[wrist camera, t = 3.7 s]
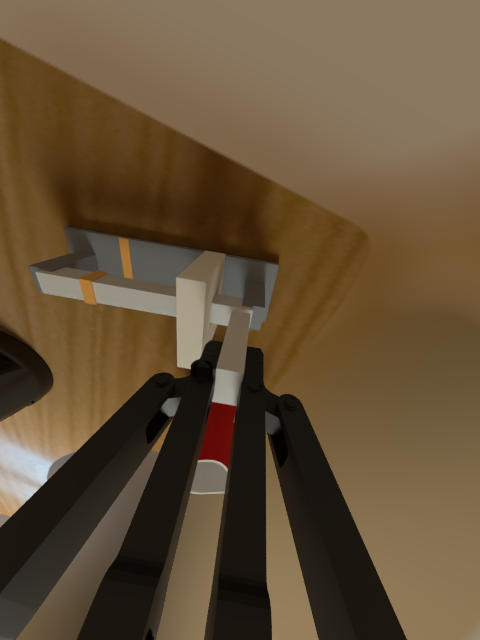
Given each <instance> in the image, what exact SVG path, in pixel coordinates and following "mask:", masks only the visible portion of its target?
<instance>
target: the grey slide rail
mask: <svg viewBox="0 0 480 640" xmlns="http://www.w3.org/2000/svg"><path fill="white" fill-rule="evenodd" d="M64 232H65V235H66V239H67V243H68V246H69V250H70V254H67V255H64V256H61V257H57V258H54V259H50V260H47V261H43V262H40V263H37V264H33V265H30V266H29V269H30V271H31V274H32V276H33V279H34V282H35V284H36V287H37V290H38V291H41V292H43V293H45V294H51V295H57V296H62V297H68V298H73V299H79V300H84V301H85V303H88V304H94V305H96V304H98V303H101V304H107V305H113V306H118V307H124V308H129V309H135V310H141V311H146V312H152V313H157V314H163V315H168V316H174V317H177V307H176V277H177V276H178V275H179V274H180V273H181V272H182V271H184V270H185V269H186V268H187V267H188V266H189V265H190V264H191V263H192V262H193V261H195V260H196V259H197V258H198V257H199V256H200V255H201V254H202V253H203V252H205V251H206V250H200V249H195V248H189V247H183V246H178V245H172V244H166V243H160V242H155V241H149V240H143V239H137V238H132V237H126V236H120V235H115V234H109V233H103V232H97V231H92V230H86V229H80V228H74V227H64ZM211 252H212V251H211ZM217 253H218V252H217ZM278 268H279V263H275V262H269V261H264V260H258V259H252V258H246V257H241V256H235V255H229V254H226V256H225V265H224V274H223V283H222V293H221V295H220V294H215V295H214V297H213V299H212V302H211V314H210V323H213V324H219V325H224V326H228V324H229V320H230V316H231V313H232V311H237V312H243V313H249V314H251V315H250V324H249V329H253V330H259V331H260V328H261V323H262V321H263V322H265V321H266V317H267V313H268V308H269V304H270V300H271V296H272V292H273V288H274V284H275V280H276V276H277V272H278Z"/></svg>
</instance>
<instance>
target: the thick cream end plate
mask: <svg viewBox="0 0 480 640" xmlns="http://www.w3.org/2000/svg"><path fill="white" fill-rule="evenodd" d="M225 256H226V254H223V253H217V252H211V251H205V252H203V253H202V254H201V255H200V256H199V257H198V258H197V259H196V260H195V261H193V262H192V263H191V264H190V265H189V266H188V267H187V268H186V269H185V270H184V271H182V272H181V273H180V274H179V275H178V276H177V277H176V307H177V367H182V368H187V369H191V364H192V363H193V362H194V361H195V360H198V359H200V357H201V355H202V352H203V349H204V347H205V344H206V343H208V342H209V341H210V340H212V338H213V335H214V333H215V330H216V327H217V325H218V324H213V323H210V314H211V302H212V299H213V297H214V295H215V294H220V295H221V293H222V283H223V274H224V265H225Z"/></svg>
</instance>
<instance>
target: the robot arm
mask: <svg viewBox="0 0 480 640" xmlns="http://www.w3.org/2000/svg"><path fill="white" fill-rule="evenodd" d="M250 315H251V314H249V313H243V312H237V311H232V313H231V316H230V320H229V324H228V327H227V331H226V334H225V338H224V342H217V341H212V340H210V341H209V342H208V343H206V344H205V347H204V349H203V352H202V355H201V357H200V359H198V360H195V361H194V362H193V363H192V364H191V375H190V376H188V377H184V378H174V377H173V375H171V374H170V373H165V372H164V373H158V374H155V375H154V376H152V377H151V378H150V379H149V380H148V381H147V382H146V383H145V384H144V385H143V386H142V387H141V388H140V389H139V390H138V391H137V392H136V393H135V394H134V395H133V396H132V397H131V398H130V399H129V400H128V401H127V402H126V403H125V404H124V405H123V406H122V407H121V408H120V409H119V410H118V411H117V412H116V413H115V414H114V415H113V416H112V417H111V418H110V419H109V420H108V421H107V422H106V423H105V424H104V425H103V426H102V427H101V428H100V429H99V430H98V431H97V432H96V433H95V434H94V435H93V436H92V437H91V438H90V439H89V440H88V441H87V442H86V443H85V444H84V445H83V446H82V447H81V448H80V449H79V450H78V451H77V452H76V453H75V454H74V455H73V456H72V457H71V458H70V459H69V460H68V461H67V462H66V463H65V464H64V465H63V466H62V467H61V468H60V469H59V470H58V471H57V472H56V473H55V474H54V475H53V476H52V477H51V478H50V479H49V480H48V481H47V482H46V483H45V484H44V485H43V486H42V487H41V488H40V489H39V490H38V491H37V492H36V493H35V494H34V495H33V496H32V497H31V498H30V499H29V500H28V501H27V502H26V503H25V504H24V505H23V506H22V507H20V508H19V509H18V510H17V511H16V512H15V513H14V514H13V515H12V516H11V517H10V519H8V520H7V521H6V522H5V524H3V525H2V527H0V640H16V638H17V637H18V636H19V634H20V633H21V631H22V630H23V629H24V628H25V626H26V625H27V624H28V622H29V621H30V620H31V618H32V617H33V615H34V614H35V613H36V611H37V610H38V609H39V607H40V606H41V605H42V603H43V602H44V600H45V599H46V597H47V596H48V595H49V593H50V592H51V590H52V589H53V588H54V586H55V585H56V583H57V582H58V580H59V579H60V578H61V576H62V575H63V573H64V572H65V570H66V569H67V568H68V566H69V565H70V563H71V562H72V561H73V559H74V558H75V556H76V555H77V554H78V552H79V551H80V549H81V548H82V546H83V545H84V544H85V542H86V541H87V539H88V538H89V536H90V535H91V534H92V532H93V531H94V529H95V528H96V527H97V525H98V523H99V522H100V521H101V519H102V518H103V517H104V515H105V514H106V512H107V511H108V510H109V508H110V507H111V505H112V504H113V502H114V501H115V500H116V498H117V497H118V495H119V494H120V492H121V491H122V490H123V488H124V487H125V485H126V484H127V482H128V481H129V480H130V478H131V477H132V476H133V474H134V473H135V471H136V470H137V468H138V467H139V466H140V464H141V463H142V461H143V460H144V458H145V457H146V456H147V454H148V453H149V451H150V450H151V449H152V447H153V446H154V444H155V443H156V442H157V440H158V439H159V437H160V436H161V434H162V433H163V432H164V430H165V429H166V427H167V426H168V425H169V423H170V422H171V420H172V419H173V420H172V423H171V425H170V428H169V430H168V433H167V435H166V438H165V440H164V443H163V445H162V447H161V450H160V452H159V455H158V458H157V460H156V462H155V465H154V467H153V470H152V472H151V475H150V477H149V480H148V482H147V485H146V487H145V490H144V492H143V494H142V497H141V499H140V502H139V504H138V507H137V509H136V512H135V514H134V517H133V519H132V522H131V524H130V527H129V529H128V532H127V534H126V537H125V539H124V542H123V544H122V546H121V549H120V551H119V554H118V555H117V557H116V559H115V561H114V562H113V563H112V565H111V566H110V567H109V568H108V570H107V572H106V574H105V576H104V578H103V580H102V582H101V584H100V586H99V588H98V591H97V593H96V596H95V598H94V600H93V602H92V605H91V607H90V609H89V612H88V614H87V617H86V619H85V621H84V624H83V626H82V628H81V631H80V633H79V636H78V638H77V640H156V636H157V631H158V627H159V623H160V619H161V615H162V610H163V606H164V602H165V596H166V591H167V586H168V581H169V577H170V573H171V569H172V565H173V561H174V557H175V553H176V549H177V545H178V541H179V536H180V532H181V528H182V524H183V520H184V516H185V512H186V508H187V504H188V500H189V496H190V492H191V488H192V484H193V479H194V475H195V471H196V467H197V463H198V459H199V455H200V451H201V447H202V443H203V439H204V435H205V431H206V427H207V422H208V418H209V414H210V410H211V403H212V402H217V403H223V404H228V405H234V406H237V408H236V413H235V417H234V422H233V423H234V427H233V434H232V442H231V449H230V457H229V464H228V472H227V479H226V487H225V495H224V501H223V509H222V516H221V524H220V532H219V539H218V546H217V554H216V561H215V569H214V576H213V584H212V591H211V597H210V603H209V609H208V615H207V623H206V629H205V637H204V640H272V625H271V606H270V599H269V594H268V590H267V582H266V441H265V440H266V439H265V438H266V436H265V435H266V433H265V432H267V434H268V439H269V443H270V447H271V451H272V455H273V459H274V462H275V467H276V470H277V475H278V479H279V482H280V487H281V490H282V495H283V499H284V502H285V507H286V511H287V515H288V518H289V523H290V527H291V531H292V534H293V538H294V543H295V546H296V550H297V555H298V558H299V562H300V566H301V570H302V574H303V578H304V582H305V586H306V590H307V594H308V598H309V602H310V606H311V610H312V614H313V618H314V622H315V626H316V630H317V634H318V638H319V640H407V639H406V637H405V635H404V632H403V630H402V628H401V625H400V623H399V621H398V619H397V616H396V614H395V612H394V610H393V607H392V605H391V603H390V601H389V599H388V596H387V594H386V592H385V589H384V587H383V585H382V583H381V581H380V578H379V576H378V574H377V571H376V569H375V567H374V565H373V562H372V560H371V558H370V556H369V553H368V551H367V549H366V547H365V544H364V542H363V540H362V538H361V536H360V533H359V531H358V529H357V527H356V524H355V522H354V520H353V517H352V515H351V513H350V511H349V509H348V506H347V504H346V502H345V500H344V497H343V495H342V493H341V490H340V488H339V486H338V484H337V482H336V479H335V477H334V475H333V472H332V470H331V468H330V466H329V463H328V461H327V459H326V457H325V455H324V452H323V450H322V448H321V445H320V443H319V441H318V439H317V436H316V434H315V432H314V430H313V428H312V425H311V423H310V421H309V418H308V416H307V414H306V412H305V410H304V407H303V405H302V403H301V402H300V400H299V399H298V398H296V397H295V396H293V395H290V394H284V395H281V396H280V397H279V396H276V395H275V394H273V393H271V392H269V391H268V390H267V389H266V387H265V386H264V382H263V353H262V351H261V349H259V348H254V347H248V346H247V342H248V333H249V324H250ZM52 386H53V378H52V375H51V373H50V371H49V369H48V367H47V366H46V364H45V363H44V362H43V361H42V360H41V359H40V358H39V357H38V356H37V355H36V354H35V353H34V352H33V351H32V350H31V349H29V348H28V347H27V346H25V345H24V344H22V343H21V342H19V341H17V340H16V339H14V338H12V337H10V336H8V335H6V334H3V333H1V332H0V421H2V420H4V419H6V418H8V417H9V416H11V415H13V414H15V413H17V412H18V411H20V410H22V409H23V408H25V407H26V406H30V405H32V404H34V403H36V402H37V401H39V400H40V399H41V398H42V397H43V396H45V395H46V394H47V393H48V392H49V391H50V390H51V388H52ZM173 417H174V418H173Z"/></svg>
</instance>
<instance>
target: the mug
mask: <svg viewBox="0 0 480 640" xmlns="http://www.w3.org/2000/svg"><path fill="white" fill-rule="evenodd" d="M236 408H237V406H234V405H228V404H223V403H217V402H212V403H211V410H210V414H209V418H208V422H207V427H206V431H205V435H204V439H203V443H202V447H201V451H200V455H199V459H198V463H197V467H196V471H195V475H194V479H193V484H192V488H191V492H190V493H193V494H218V493H225V487H226V479H227V472H228V464H229V457H230V449H231V442H232V434H233V427H234V423H233V422H234V417H235V413H236Z"/></svg>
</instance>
